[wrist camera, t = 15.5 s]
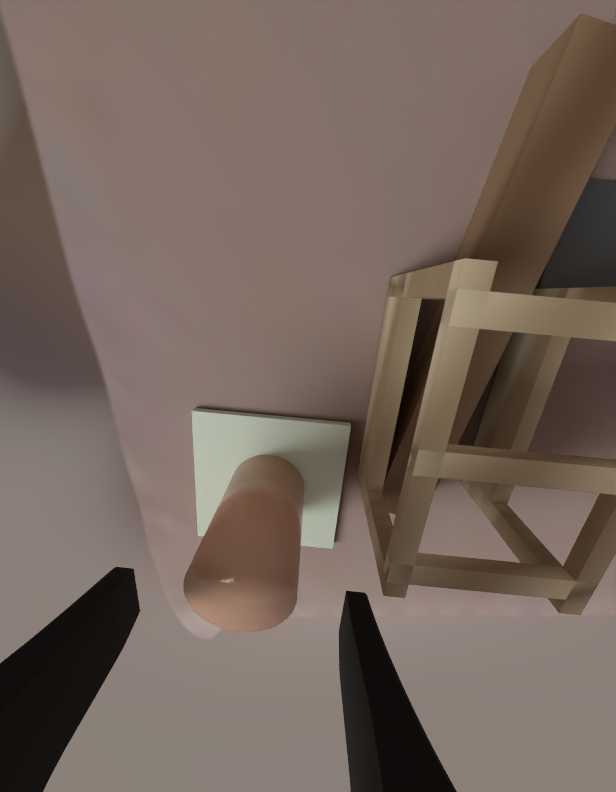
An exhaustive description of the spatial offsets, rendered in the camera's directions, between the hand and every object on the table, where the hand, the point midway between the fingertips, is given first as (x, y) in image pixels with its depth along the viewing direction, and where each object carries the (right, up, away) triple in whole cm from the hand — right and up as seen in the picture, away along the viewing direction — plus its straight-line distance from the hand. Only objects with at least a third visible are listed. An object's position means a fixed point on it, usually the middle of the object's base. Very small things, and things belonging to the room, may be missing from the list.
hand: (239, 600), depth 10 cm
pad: (0, +2, +6) cm, 7 cm away
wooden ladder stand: (+9, +7, +4) cm, 12 cm away
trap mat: (+14, +13, +2) cm, 20 cm away
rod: (+9, +10, +4) cm, 14 cm away
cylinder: (0, +2, +6) cm, 6 cm away
